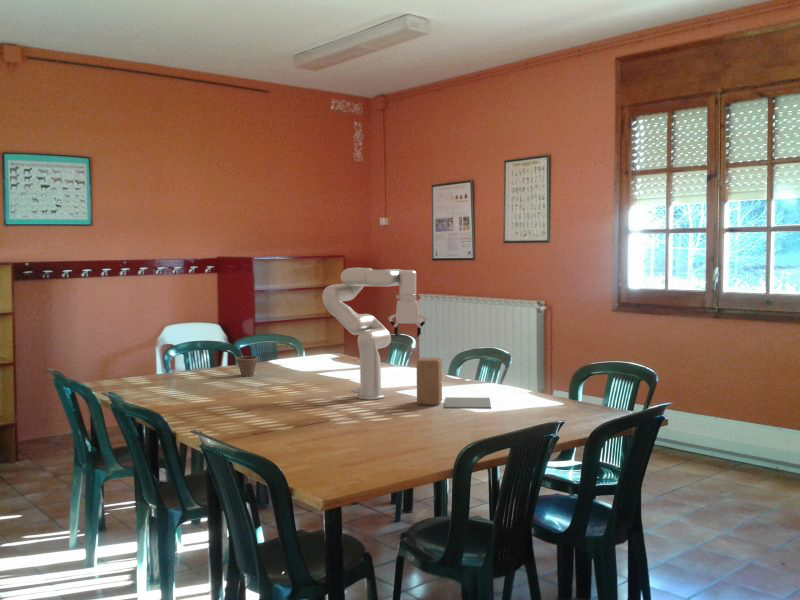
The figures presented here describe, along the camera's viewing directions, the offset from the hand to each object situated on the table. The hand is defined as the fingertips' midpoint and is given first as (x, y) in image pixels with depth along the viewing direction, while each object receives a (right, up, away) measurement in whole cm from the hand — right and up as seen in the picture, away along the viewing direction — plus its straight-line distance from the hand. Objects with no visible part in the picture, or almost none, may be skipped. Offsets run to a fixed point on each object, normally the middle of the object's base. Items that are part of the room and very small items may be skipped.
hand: (407, 336), depth 344 cm
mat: (+27, -30, -1) cm, 40 cm away
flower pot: (-87, -26, +77) cm, 119 cm away
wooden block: (+10, -30, +1) cm, 32 cm away
